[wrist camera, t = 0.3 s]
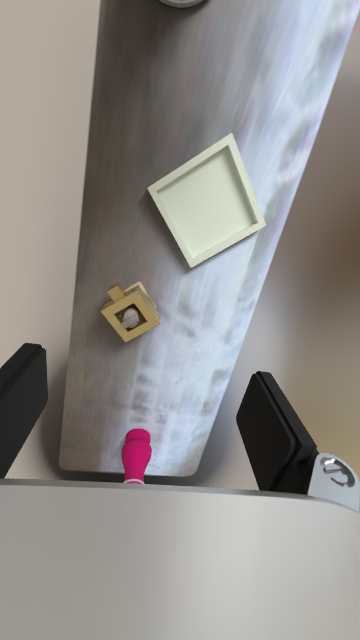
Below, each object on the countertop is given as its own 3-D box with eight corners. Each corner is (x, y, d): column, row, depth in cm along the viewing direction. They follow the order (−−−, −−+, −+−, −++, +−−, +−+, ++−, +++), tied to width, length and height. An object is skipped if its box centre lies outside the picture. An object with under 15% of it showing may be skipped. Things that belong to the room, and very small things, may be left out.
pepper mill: (136, 422, 62) (126, 514, 44) (157, 435, 65) (156, 526, 47) (118, 437, 64) (101, 530, 46) (139, 449, 67) (131, 542, 49)
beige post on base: (112, 296, 47) (102, 316, 39) (139, 281, 46) (134, 298, 38) (130, 320, 49) (125, 344, 42) (156, 306, 48) (155, 327, 41)
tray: (147, 188, 39) (147, 188, 37) (228, 136, 37) (231, 132, 35) (189, 264, 45) (190, 267, 43) (261, 223, 42) (266, 225, 41)
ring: (127, 333, 46) (125, 342, 43) (97, 294, 42) (92, 301, 40) (159, 316, 45) (159, 324, 42) (131, 274, 41) (129, 280, 38)
